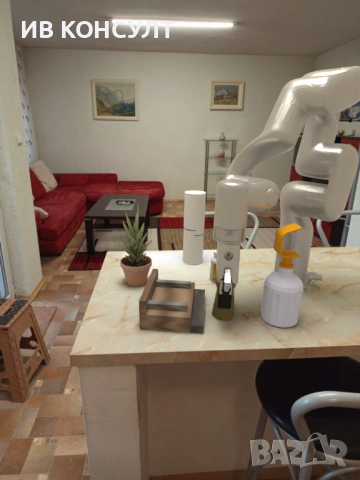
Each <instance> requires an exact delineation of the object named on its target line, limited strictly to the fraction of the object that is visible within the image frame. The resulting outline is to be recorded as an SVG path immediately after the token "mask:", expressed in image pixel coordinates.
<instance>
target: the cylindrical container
mask: <svg viewBox="0 0 360 480" xmlns="http://www.w3.org/2000/svg"><path fill="white" fill-rule="evenodd" d="M206 197H207V192H206V191H203V190H194V189H193V190H185V191H184V199H183V200H184V204H183V207H184V208H183V237H182V239H183V241H182V242H183V243H182V245H183V247H182V262H183V263H184V264H186V265H188V266H189V265H190V266H198V265H201V264H203V262H204V261H203V260H204V241H205V240H204V239H205V238H204V237H205V236H204V235H205V221H206V220H205V219H206V218H205V216H206Z"/></svg>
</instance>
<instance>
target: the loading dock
mask: <svg viewBox="0 0 360 480" xmlns="http://www.w3.org/2000/svg"><path fill="white" fill-rule="evenodd" d="M205 297H206V289H204V288H202V289H201V288H200V289H199V288H196V282H194V281H193V282H192V281H189V280H172V279H159V268H152V270H151V272H150V274H149V277H148V278H147V282H146V283H145V286H144V288H143V290H142V293H141V295H140V298H139V299H138V317H139V319H138V320H139V321H138V322H139V324H138V325H139V329H140V330H151V331H164V332H178V333H189V334H190V333H191V334H202V335H203V334H204V321H205V319H204V318H205V302H206V298H205Z"/></svg>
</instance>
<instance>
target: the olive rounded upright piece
mask: <svg viewBox="0 0 360 480" xmlns="http://www.w3.org/2000/svg"><path fill="white" fill-rule="evenodd" d="M222 280H224V279H222ZM214 284H215V287H216V290H215V291H216V292H215V295H214V299H213V300H214V301H213V306H212V309H211V310H212V311H211V316H213V318H214V319H215V320H218V321H223V322H224V321H225V322H227V321H232V320H234V318H236V305H235V303H236V302H235V290H234V289H235V288H236V286H237V284H234V283H233V282H232V301H231V309H221V308H217V302H218V292H220V283H219V282H218V281H217V277H216V280H215V282H214ZM223 286H224V284H222V288H223Z"/></svg>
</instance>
